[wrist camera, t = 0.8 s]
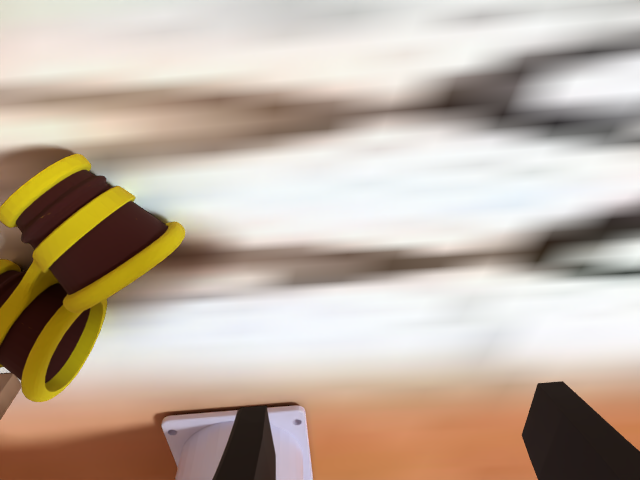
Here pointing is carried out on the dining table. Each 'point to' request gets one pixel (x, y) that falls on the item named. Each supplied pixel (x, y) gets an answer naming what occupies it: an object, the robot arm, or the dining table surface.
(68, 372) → the opera glasses
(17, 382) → the bar
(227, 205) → the dining table surface
